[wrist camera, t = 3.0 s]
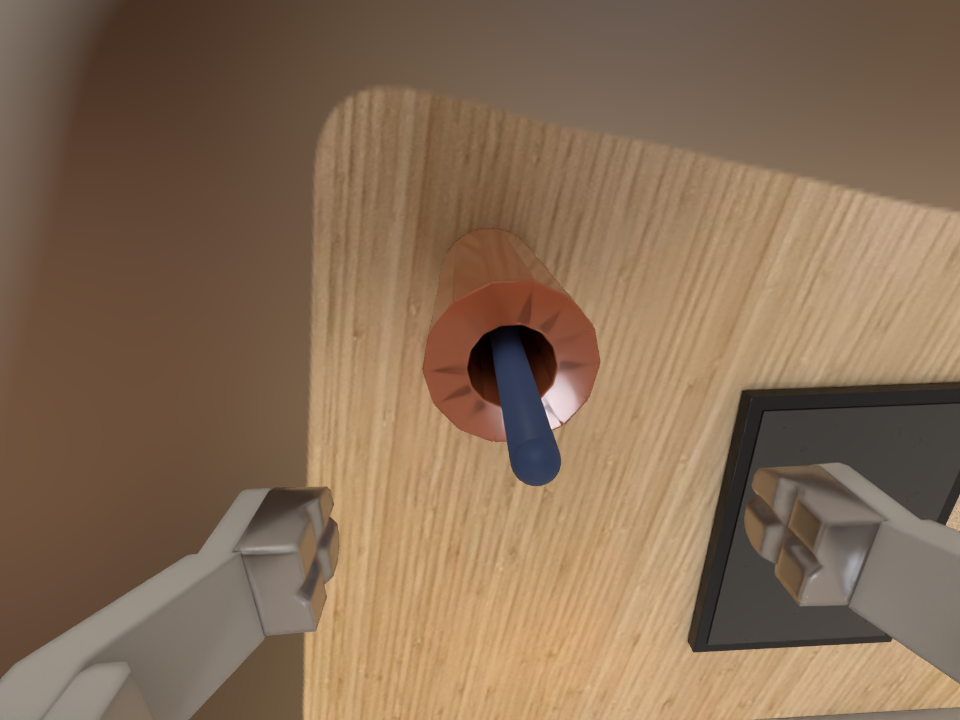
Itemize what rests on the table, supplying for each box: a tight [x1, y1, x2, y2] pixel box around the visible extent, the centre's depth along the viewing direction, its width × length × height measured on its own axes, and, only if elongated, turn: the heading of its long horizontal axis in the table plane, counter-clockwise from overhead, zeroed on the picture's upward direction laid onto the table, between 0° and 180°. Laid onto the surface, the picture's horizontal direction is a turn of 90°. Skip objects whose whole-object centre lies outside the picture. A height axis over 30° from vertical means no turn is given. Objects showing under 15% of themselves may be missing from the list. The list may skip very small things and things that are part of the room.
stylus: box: [489, 325, 561, 486], centre depth 18 cm, size 1×1×18 cm
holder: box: [423, 228, 600, 442], centre depth 21 cm, size 6×6×13 cm
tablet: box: [688, 382, 960, 652], centre depth 35 cm, size 24×17×1 cm
